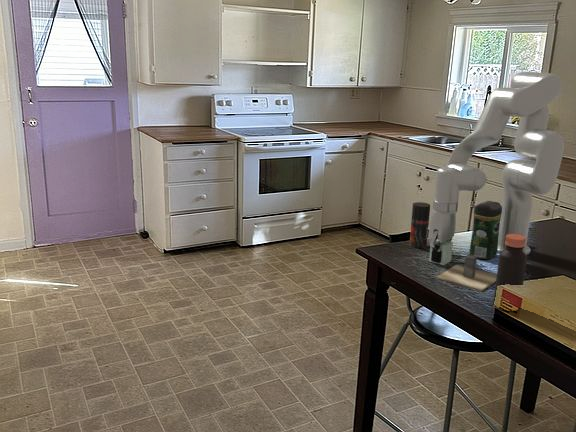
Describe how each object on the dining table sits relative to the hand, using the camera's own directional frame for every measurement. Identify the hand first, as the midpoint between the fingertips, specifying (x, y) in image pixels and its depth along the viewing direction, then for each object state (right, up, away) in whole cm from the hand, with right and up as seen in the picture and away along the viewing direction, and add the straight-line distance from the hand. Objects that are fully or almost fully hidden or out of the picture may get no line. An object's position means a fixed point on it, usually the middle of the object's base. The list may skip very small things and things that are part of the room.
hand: (440, 259), depth 182 cm
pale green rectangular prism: (0, -1, 0) cm, 1 cm away
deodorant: (-4, +4, +15) cm, 16 cm away
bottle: (+9, -11, -32) cm, 35 cm away
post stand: (+5, -5, -13) cm, 15 cm away
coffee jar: (+16, +1, +6) cm, 17 cm away
